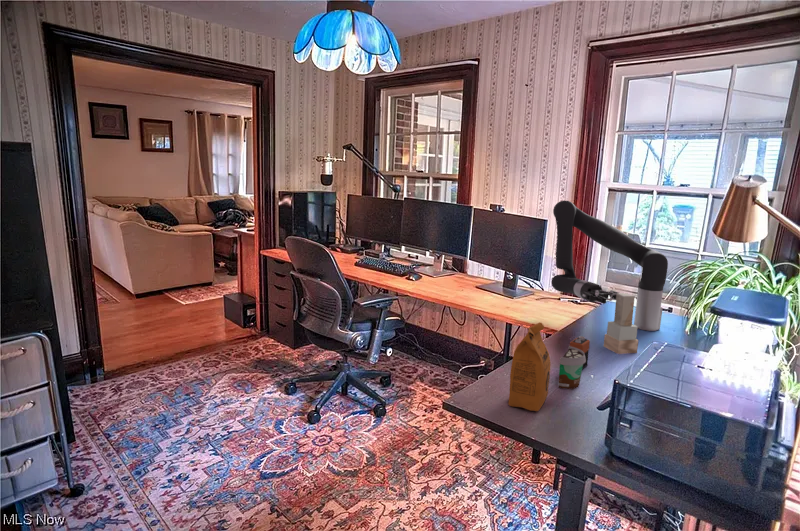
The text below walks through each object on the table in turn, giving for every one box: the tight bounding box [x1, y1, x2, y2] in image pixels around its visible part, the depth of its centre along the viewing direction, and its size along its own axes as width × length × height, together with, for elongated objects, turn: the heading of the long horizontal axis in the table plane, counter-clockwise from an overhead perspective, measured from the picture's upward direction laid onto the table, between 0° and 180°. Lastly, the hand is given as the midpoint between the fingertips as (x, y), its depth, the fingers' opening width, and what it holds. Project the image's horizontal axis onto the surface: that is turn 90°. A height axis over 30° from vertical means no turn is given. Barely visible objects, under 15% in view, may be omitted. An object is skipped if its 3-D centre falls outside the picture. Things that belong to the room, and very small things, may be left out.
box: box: [613, 292, 636, 326], centre depth 166 cm, size 5×4×11 cm
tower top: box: [606, 320, 638, 341], centre depth 167 cm, size 7×7×5 cm
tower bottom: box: [603, 333, 639, 355], centre depth 168 cm, size 8×8×5 cm
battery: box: [569, 335, 590, 370], centre depth 150 cm, size 4×7×10 cm, turn 138°
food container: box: [557, 345, 586, 390], centre depth 136 cm, size 12×6×10 cm, turn 148°
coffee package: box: [507, 322, 552, 412], centre depth 123 cm, size 10×12×22 cm
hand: (615, 300), depth 170 cm, fingers open, 8 cm apart
